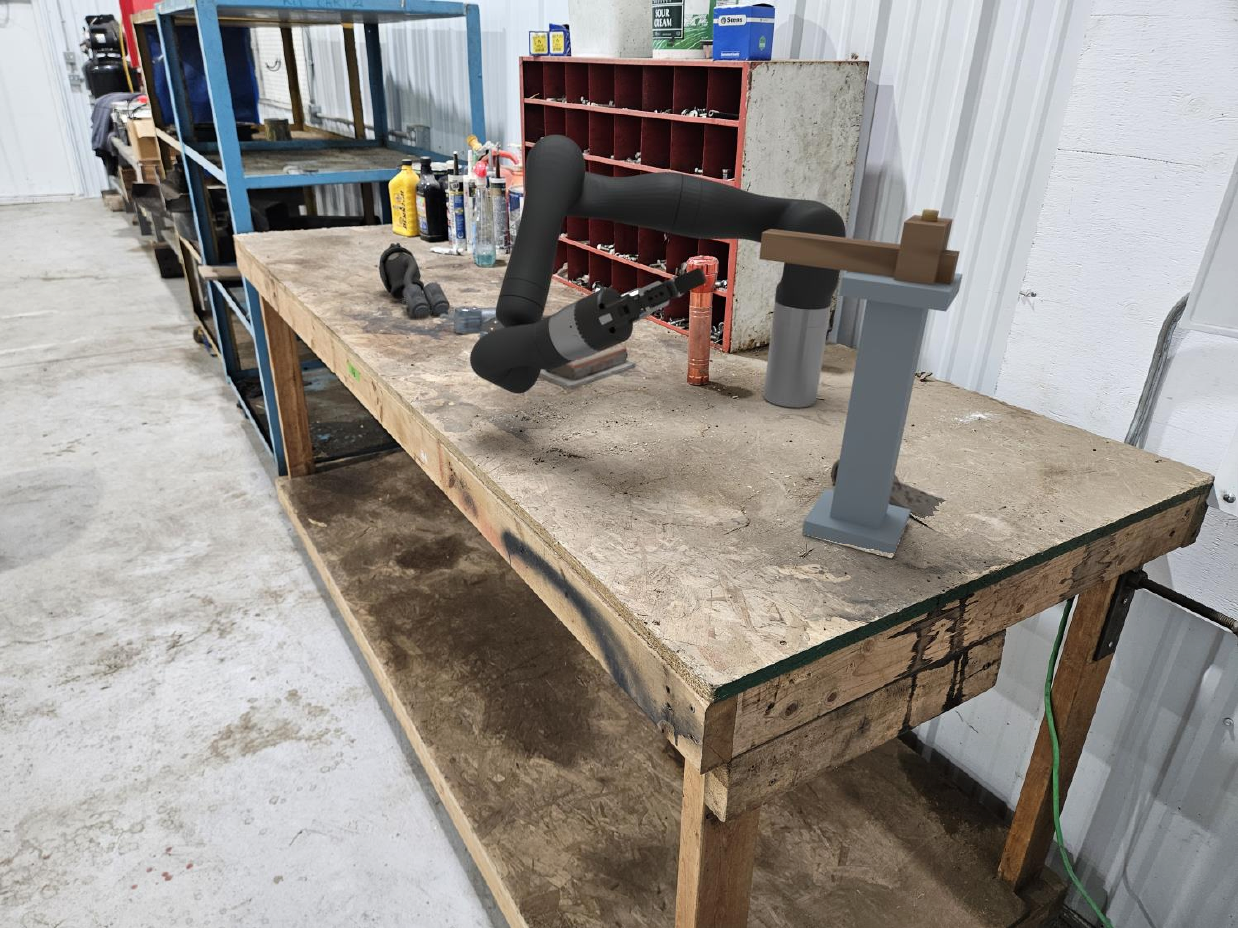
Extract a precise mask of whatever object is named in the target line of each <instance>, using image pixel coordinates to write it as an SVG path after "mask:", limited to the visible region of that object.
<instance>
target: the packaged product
mask: <svg viewBox="0 0 1238 928" xmlns="http://www.w3.org/2000/svg"><path fill="white" fill-rule="evenodd" d="M627 351H628V350H627V346H625V345H624V343H623V342H622V343H620V344H617V345H615V346H613V347H610V348H608V349H605V350H603V351H601V352H598V353H596V354H594V355H591V356H588V357H585V358H581V359H577V360H575V361H572V362H570V363H567V364H565V365H563V366H560V367H558V368H555V369H552V370H542V369H541V371H540V375H539V377H538V379H541V380H543V381H547V382H549V383H551V384H555V385H559V386H561V387H563V388H565V389H569V390H572V389H576V388H578V387H581V386H582V385H585V384H589V383H592V382H597V381H598V380H601V379H605V378H608V377H610V376H614V375H616V374H619V373H621V372H623V371H627V370H630V369H633V368H635V367H636V365H637V364H636V362H633V361H630V360H627V359H628V356H629V355H628V352H627Z"/></svg>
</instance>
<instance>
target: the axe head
mask: <svg viewBox="0 0 1238 928" xmlns="http://www.w3.org/2000/svg"><path fill="white" fill-rule="evenodd" d="M838 465H839V459H838V460H835V462H834V463H833V465H832V468H831V471H830V478H831V482H832V484H833V483H834V484H835V483H836V477H837V471H838ZM834 484H833V485H834ZM944 501H947V499H944V498H942V497H937V496H935V495H933V494H929V493H928V492H926V491H923V490H920V489H918V488H915V487H912V486H910V485H908V484H906V483H903V482H901V481H899V478H898V476H897V475H896V474H895V476H894V480H893V485H892V490H891V495H890V500H889V504H890V505H891V504H892V505H894V506H898V507H902V508H906V509H910V510H911V511H910V513H912V514H913V515H915V516H918V517H920V518H924V519H925V517H926V516H928V517H929V516H934V514H933V511H939V510H937V509H936V508H935V506H939V502H940V503H941V504H942V502H944Z"/></svg>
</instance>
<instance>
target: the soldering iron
mask: <svg viewBox="0 0 1238 928" xmlns="http://www.w3.org/2000/svg"><path fill="white" fill-rule="evenodd" d="M495 312H496V307H478V306H475V305H472V306H471V307H470V306H467V305H461V306H458V307H455V308H454V313H453V315H450V314H447V315H446V314H445V313H443V314H440V316H439V318H440V319H442V320H443V319H446V320H449V321H453V330H454V331H455V332H456V334H460V335H469V334H473V333H474V334H476V333H478V334H479V339H480V338H481V337H483V336H484V335H486V334H487V333H489V332H492V331H494V330H498V329H502V328H505V327H504V326H503V325H502V324H501V323H500V322H499V321H498V319H497V317H496V313H495ZM551 315H552V314H547V315H546V314H543V316H542V319H544V318H546V317H549V316H551ZM479 339H478V340H479Z"/></svg>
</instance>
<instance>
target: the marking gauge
mask: <svg viewBox="0 0 1238 928" xmlns="http://www.w3.org/2000/svg"><path fill="white" fill-rule="evenodd" d="M939 214H940V211H939V210H936V209H922V213H921V215H918V214H914V215H912V216H911V217H909V218H908V219H906V220H905V221H904V222H903V227H902V232H901V238H900V243H893V242H886V241H885V242H884V241H876V240H875V241H874V240H867V239H859V238H850V237H845V238H843V237H835V236H826V235H818V234H809V233H801V232H792V231H784V230H775V229H769V230H767V231H765V232H762V238H761V243H760V247H759V257H758V258H759V260H764V261H771V262H779V263H783V264H784V263H792V264H799V265H807V266H814V267H821V268H829V269H836V270H840V271H844V272H850V271H851V272H859V273H866V274H873V275H881V276H888V277H894V280H896V281H903V282H910V283H918V284H925V285H932V286H933V285H934V283H940V284H947V285H950V284H951V282H952V281H953V280H954V276H955V273H956V270H957V265H958V261H959V256H960V253H961V252H960V250H953V249H952V250H951V249H948V244H949V239H950V235H951V231H952V230H951V229H952V225H953V220H954V219H953V218H949V217H948V218H947V217H939Z"/></svg>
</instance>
